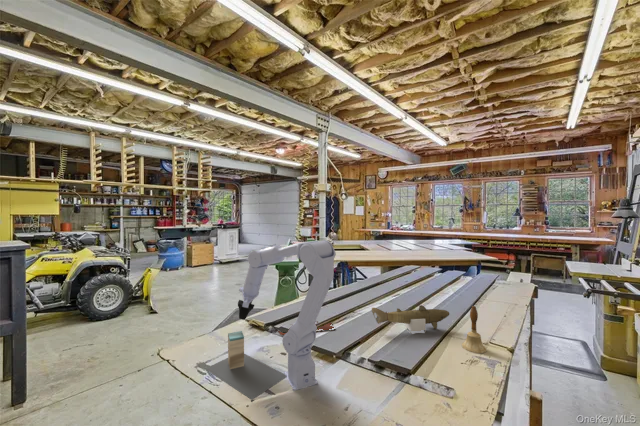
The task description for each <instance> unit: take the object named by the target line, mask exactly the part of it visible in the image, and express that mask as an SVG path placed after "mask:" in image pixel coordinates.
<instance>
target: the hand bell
mask: <svg viewBox="0 0 640 426" xmlns="http://www.w3.org/2000/svg"><path fill="white" fill-rule="evenodd" d="M478 315H479V314H478V310H477V306H475V305H472V306H471V308H470V312H469V316H470V321H471V330H470V331H468V332H467V334H466V335H467V336H466V339H465V341H464V342H462V344H461V347H462V348H463V349H464V350H465V351H467V352H469V353H473V354H485V353H486V352H487V347H486V346H484V344H483V342H482V336H481V334H480V333H479V332H477V322H478Z"/></svg>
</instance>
